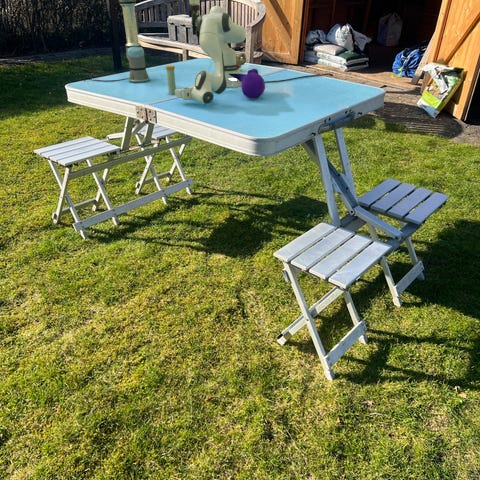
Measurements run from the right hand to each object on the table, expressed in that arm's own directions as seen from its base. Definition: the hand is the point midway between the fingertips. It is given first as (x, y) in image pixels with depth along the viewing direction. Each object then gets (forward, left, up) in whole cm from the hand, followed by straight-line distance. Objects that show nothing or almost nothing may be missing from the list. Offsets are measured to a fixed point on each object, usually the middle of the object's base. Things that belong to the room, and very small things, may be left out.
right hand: (185, 88), depth 281 cm
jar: (0, -21, -7) cm, 22 cm away
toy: (-36, +16, -7) cm, 40 cm away
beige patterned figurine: (-77, -68, -7) cm, 103 cm away
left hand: (-48, -77, +21) cm, 93 cm away
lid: (0, -21, +11) cm, 24 cm away
